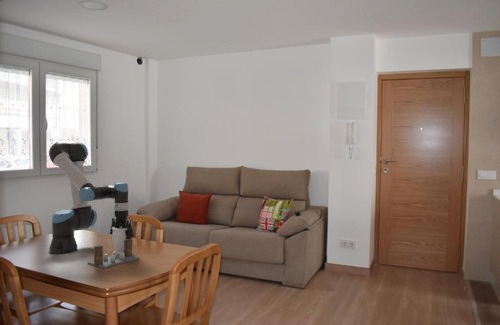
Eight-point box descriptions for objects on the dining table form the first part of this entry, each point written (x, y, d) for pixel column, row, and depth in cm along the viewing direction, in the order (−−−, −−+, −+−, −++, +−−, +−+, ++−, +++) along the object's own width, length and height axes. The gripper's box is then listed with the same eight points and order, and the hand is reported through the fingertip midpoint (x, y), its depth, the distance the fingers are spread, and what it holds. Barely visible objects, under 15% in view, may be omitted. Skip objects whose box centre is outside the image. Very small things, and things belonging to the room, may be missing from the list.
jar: (125, 255, 233) (125, 229, 232) (108, 254, 235) (108, 228, 235) (134, 251, 243) (134, 225, 243) (118, 250, 246) (118, 225, 245)
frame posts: (94, 265, 213) (94, 246, 213) (128, 256, 232) (128, 238, 231) (97, 266, 212) (97, 247, 211) (132, 257, 230) (132, 239, 229)
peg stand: (87, 264, 216) (87, 256, 216) (122, 255, 235) (121, 248, 234) (104, 268, 209) (104, 260, 208) (138, 258, 227) (138, 251, 227)
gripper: (103, 208, 242) (103, 246, 242) (129, 212, 229) (129, 252, 230) (113, 207, 248) (114, 244, 249) (140, 210, 235) (140, 249, 236)
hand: (121, 248), depth 239 cm, fingers closed on jar, 10 cm apart
